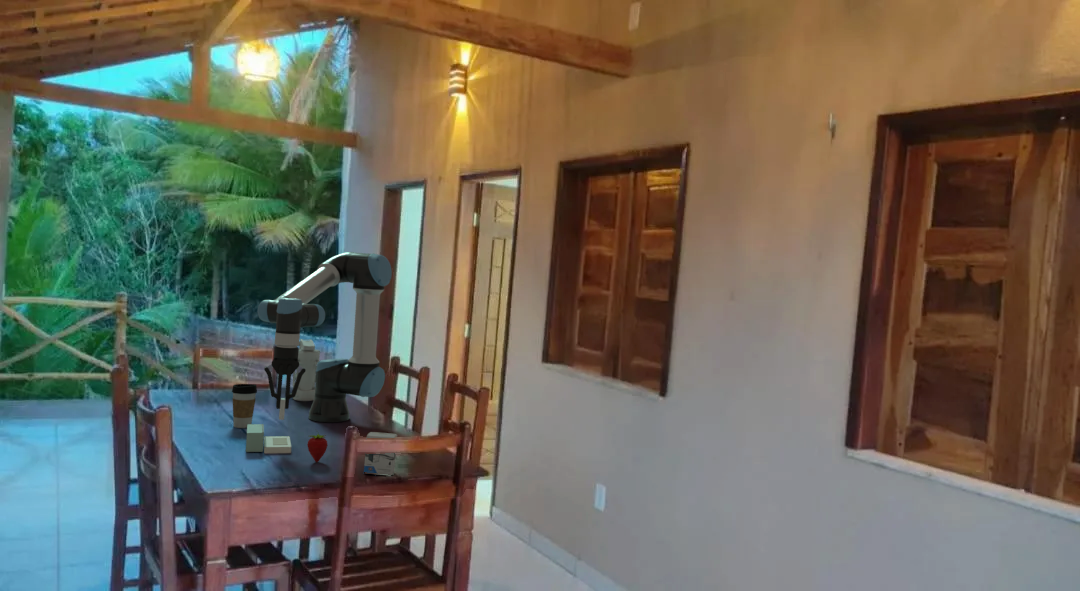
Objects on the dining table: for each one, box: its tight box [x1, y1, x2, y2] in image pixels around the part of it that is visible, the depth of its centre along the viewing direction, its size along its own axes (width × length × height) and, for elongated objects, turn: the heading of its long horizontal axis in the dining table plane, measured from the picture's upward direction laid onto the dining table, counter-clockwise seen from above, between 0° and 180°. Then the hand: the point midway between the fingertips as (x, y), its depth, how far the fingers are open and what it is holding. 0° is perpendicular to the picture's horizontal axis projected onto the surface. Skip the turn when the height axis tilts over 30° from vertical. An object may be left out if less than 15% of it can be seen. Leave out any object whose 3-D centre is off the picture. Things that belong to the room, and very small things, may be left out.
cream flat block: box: [263, 435, 292, 454], centre depth 246 cm, size 8×14×2 cm, turn 20°
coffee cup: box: [231, 383, 258, 429], centre depth 271 cm, size 8×8×15 cm
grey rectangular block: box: [245, 423, 265, 453], centre depth 244 cm, size 5×12×6 cm, turn 20°
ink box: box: [363, 431, 398, 475], centre depth 226 cm, size 9×5×12 cm, turn 92°
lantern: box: [292, 338, 321, 402], centre depth 330 cm, size 13×10×25 cm
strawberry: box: [307, 429, 328, 463], centre depth 233 cm, size 6×8×10 cm
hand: (281, 418), depth 246 cm, fingers closed
